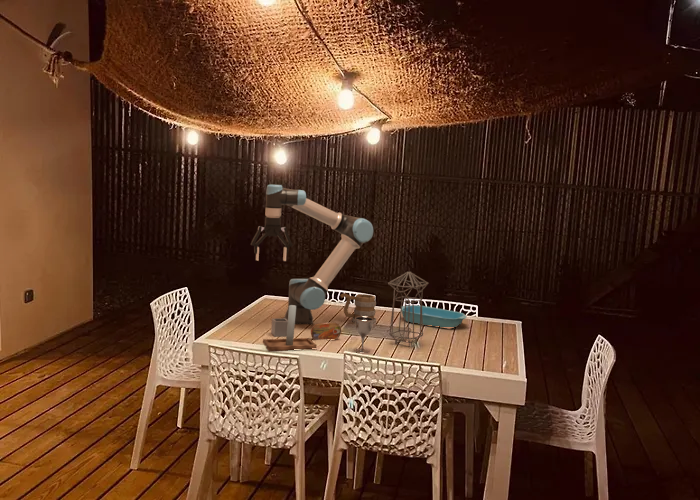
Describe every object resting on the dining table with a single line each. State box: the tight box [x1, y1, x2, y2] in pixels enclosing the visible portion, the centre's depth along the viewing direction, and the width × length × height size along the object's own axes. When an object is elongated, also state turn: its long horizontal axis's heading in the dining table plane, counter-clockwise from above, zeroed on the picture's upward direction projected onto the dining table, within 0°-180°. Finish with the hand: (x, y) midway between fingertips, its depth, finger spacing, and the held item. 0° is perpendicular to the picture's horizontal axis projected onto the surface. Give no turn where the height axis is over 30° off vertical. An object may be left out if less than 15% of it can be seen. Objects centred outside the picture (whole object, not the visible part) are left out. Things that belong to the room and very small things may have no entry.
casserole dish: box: [401, 304, 467, 328], centre depth 363 cm, size 37×22×7 cm, turn 63°
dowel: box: [285, 305, 296, 346], centre depth 297 cm, size 3×3×18 cm
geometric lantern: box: [387, 271, 430, 348], centre depth 314 cm, size 16×16×35 cm
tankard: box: [340, 292, 377, 325], centre depth 356 cm, size 20×13×15 cm, turn 88°
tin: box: [310, 322, 342, 341], centre depth 313 cm, size 15×3×8 cm, turn 117°
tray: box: [262, 337, 318, 352], centre depth 298 cm, size 22×13×2 cm, turn 110°
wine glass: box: [354, 316, 374, 354], centre depth 298 cm, size 8×8×15 cm
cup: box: [270, 317, 288, 338], centre depth 314 cm, size 7×7×8 cm
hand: (270, 260), depth 321 cm, fingers open, 13 cm apart
